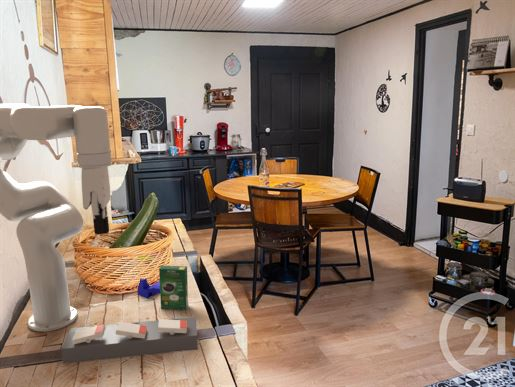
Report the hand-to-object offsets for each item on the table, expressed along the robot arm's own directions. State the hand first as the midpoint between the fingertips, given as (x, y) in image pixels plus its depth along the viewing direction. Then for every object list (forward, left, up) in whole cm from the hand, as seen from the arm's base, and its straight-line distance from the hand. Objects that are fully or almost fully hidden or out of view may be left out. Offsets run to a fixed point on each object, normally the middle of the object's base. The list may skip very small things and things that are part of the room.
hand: (102, 232), depth 107 cm
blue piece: (-26, +10, -30) cm, 41 cm away
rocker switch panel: (+5, +6, -29) cm, 30 cm away
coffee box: (-13, +16, -29) cm, 36 cm away
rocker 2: (+7, +6, -25) cm, 26 cm away
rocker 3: (+7, +16, -25) cm, 30 cm away
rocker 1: (+7, -4, -25) cm, 26 cm away
